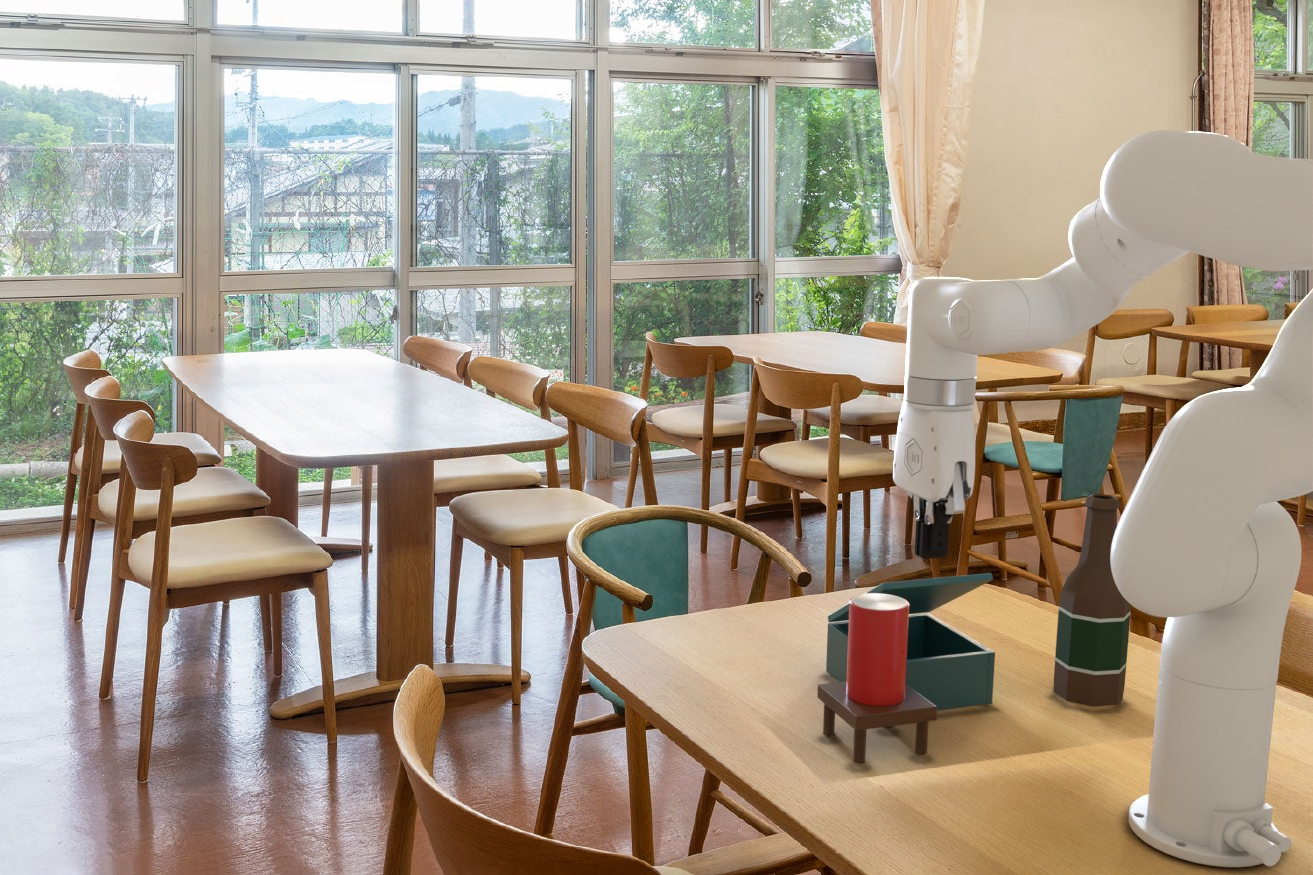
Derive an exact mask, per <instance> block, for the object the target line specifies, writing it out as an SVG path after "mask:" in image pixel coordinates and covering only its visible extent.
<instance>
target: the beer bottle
mask: <svg viewBox="0 0 1313 875" xmlns="http://www.w3.org/2000/svg"><path fill="white" fill-rule="evenodd" d="M1084 506H1085V507H1086V513H1085V522H1084V527H1083V528H1084V529H1083V534H1082V542H1081V551H1080V555H1079V559H1078V561H1077V562H1078V563H1077V565H1076V566H1075V567H1074V569H1073V570H1072V571H1071V573H1070V574H1069V575H1068V576H1067V577H1066V580H1065V582H1064V584H1063V586H1062V588H1061V590H1060V597H1059V604H1058V611H1057V612H1058V613H1057V627H1056V640H1055V656H1054V667H1053V668H1054V670H1053V692H1054V693H1055V694H1057V696H1059V697H1060V698H1062V699H1063V700H1065V701H1066V702H1069V703H1074V704H1078V705H1084V706H1088V707H1105V706H1107V707H1108V706H1117V707H1118V706H1120V704H1121V703H1122V701H1123V700H1124V693H1125V685H1126V674H1127V661H1128V650H1129V648H1128V647H1129V638H1130V625H1131V611H1132V610H1131V609H1132V605H1131V604H1130V603H1129V602H1128V601H1127V600H1126V599H1125V598H1124V597H1123V596H1122V594H1121V593H1120V591H1119V590H1118V588H1117V586H1116V584H1115V581H1114V578H1113V575H1112V570H1111V563H1110V553H1111V545H1112V540H1113V536H1114V533H1115V530H1116V527H1117V525H1118V509H1119V508H1121V503H1120V498H1118V497H1116V496H1113V495H1110V494H1104V493H1093V494H1090V495H1088V496H1087V497H1086V499H1085V502H1084Z"/></svg>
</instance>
